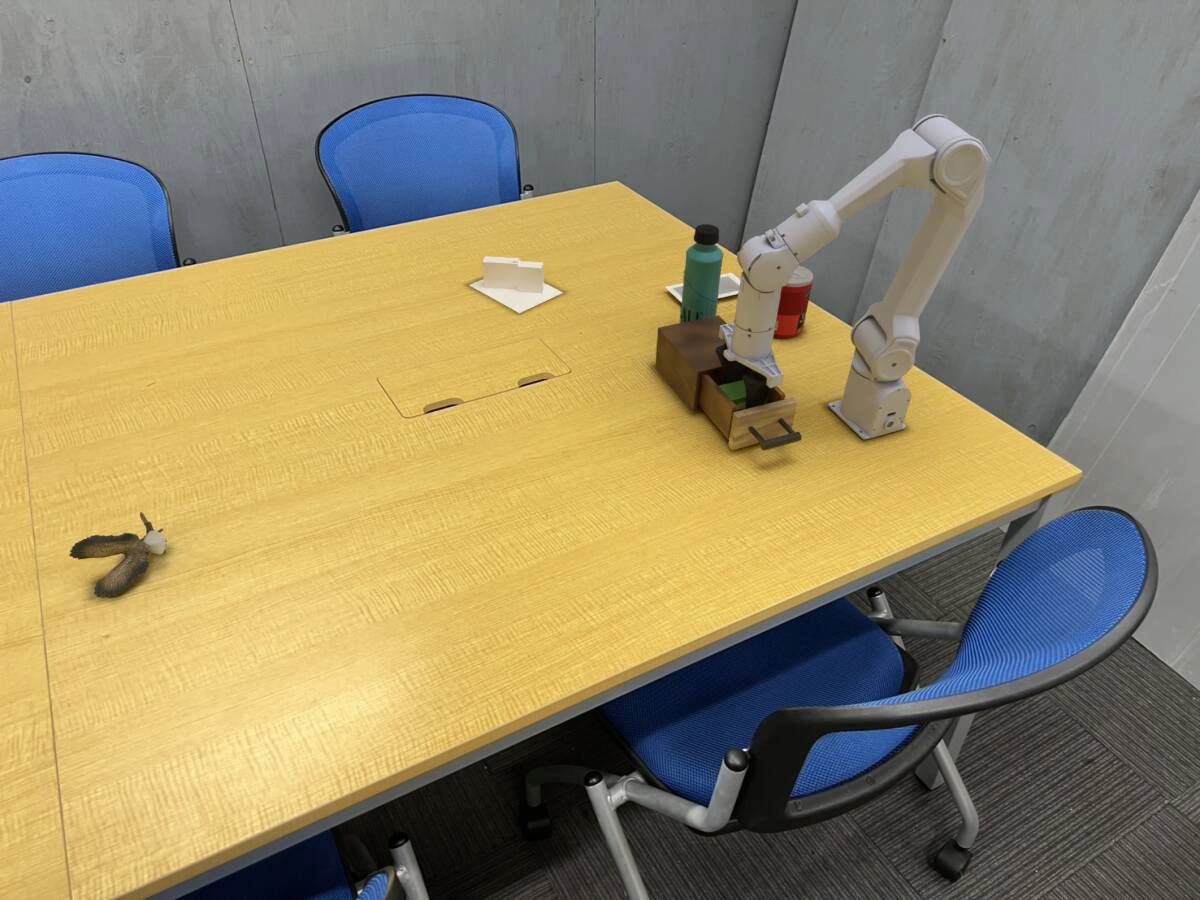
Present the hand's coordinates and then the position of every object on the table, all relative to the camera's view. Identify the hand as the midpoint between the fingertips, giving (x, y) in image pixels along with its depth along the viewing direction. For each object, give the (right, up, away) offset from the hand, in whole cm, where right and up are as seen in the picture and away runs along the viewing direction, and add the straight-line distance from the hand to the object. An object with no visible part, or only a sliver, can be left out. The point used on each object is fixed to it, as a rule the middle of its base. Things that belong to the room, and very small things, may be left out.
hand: (742, 400), depth 121 cm
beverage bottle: (-4, +13, +22) cm, 26 cm away
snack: (0, -2, +1) cm, 2 cm away
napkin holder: (-38, +23, +34) cm, 56 cm away
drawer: (+1, -4, 0) cm, 4 cm away
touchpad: (-1, +23, +34) cm, 41 cm away
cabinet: (-4, +4, +11) cm, 12 cm away
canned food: (+11, +14, +24) cm, 30 cm away
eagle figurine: (-79, -22, -22) cm, 85 cm away
